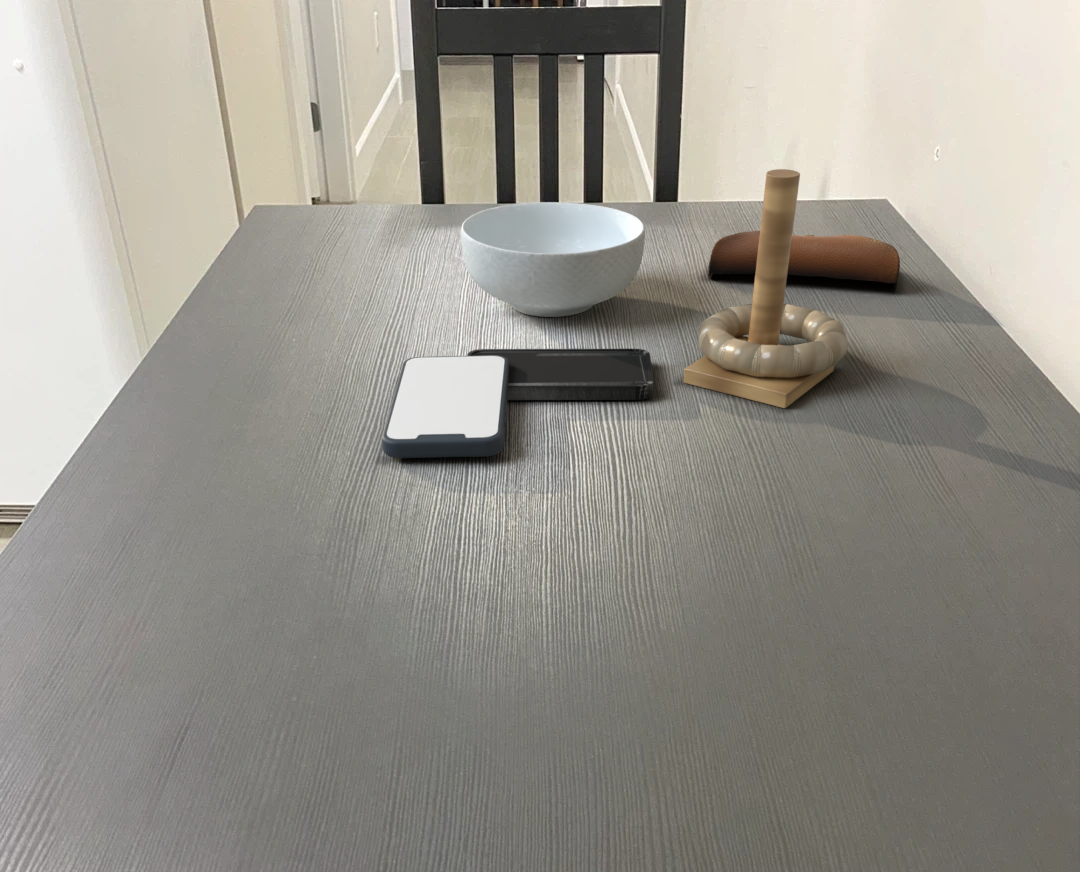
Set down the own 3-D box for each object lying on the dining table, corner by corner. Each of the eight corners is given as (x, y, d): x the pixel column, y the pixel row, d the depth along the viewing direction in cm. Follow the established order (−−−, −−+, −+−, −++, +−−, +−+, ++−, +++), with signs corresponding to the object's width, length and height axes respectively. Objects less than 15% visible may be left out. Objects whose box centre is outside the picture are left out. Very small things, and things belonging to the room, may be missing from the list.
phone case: (404, 374, 90) (380, 463, 77) (402, 355, 89) (377, 442, 76) (511, 372, 89) (504, 461, 77) (511, 353, 88) (503, 439, 76)
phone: (654, 386, 84) (460, 386, 85) (653, 400, 85) (461, 400, 85) (648, 348, 90) (468, 348, 91) (648, 361, 91) (469, 361, 91)
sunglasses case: (897, 261, 109) (909, 209, 103) (890, 318, 107) (901, 269, 100) (717, 251, 112) (718, 200, 106) (706, 306, 110) (707, 257, 104)
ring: (867, 346, 90) (873, 317, 88) (804, 394, 83) (809, 363, 81) (740, 318, 95) (743, 290, 94) (671, 361, 88) (673, 331, 87)
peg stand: (833, 371, 89) (867, 168, 80) (785, 409, 84) (814, 196, 74) (735, 348, 93) (755, 152, 84) (683, 382, 88) (698, 177, 78)
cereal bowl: (633, 340, 95) (636, 255, 90) (447, 331, 97) (441, 249, 93) (648, 277, 108) (652, 200, 103) (484, 271, 110) (481, 196, 106)
